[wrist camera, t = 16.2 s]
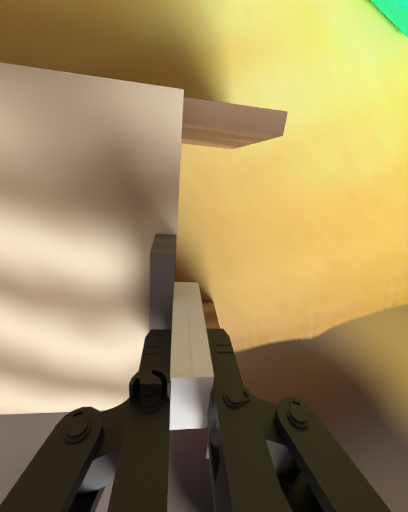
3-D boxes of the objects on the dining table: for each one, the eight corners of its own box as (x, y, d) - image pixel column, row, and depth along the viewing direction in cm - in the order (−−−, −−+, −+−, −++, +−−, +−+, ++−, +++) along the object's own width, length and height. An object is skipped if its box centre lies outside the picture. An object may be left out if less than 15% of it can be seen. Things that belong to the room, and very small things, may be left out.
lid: (-153, 46, 10) (-357, -25, 6) (183, 95, 12) (185, 63, 8) (-15, 402, 18) (-64, 464, 14) (167, 396, 20) (165, 449, 16)
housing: (-64, 100, 21) (-391, 14, 9) (234, 137, 25) (287, 111, 13) (-4, 304, 29) (-131, 402, 17) (212, 308, 33) (231, 390, 21)
